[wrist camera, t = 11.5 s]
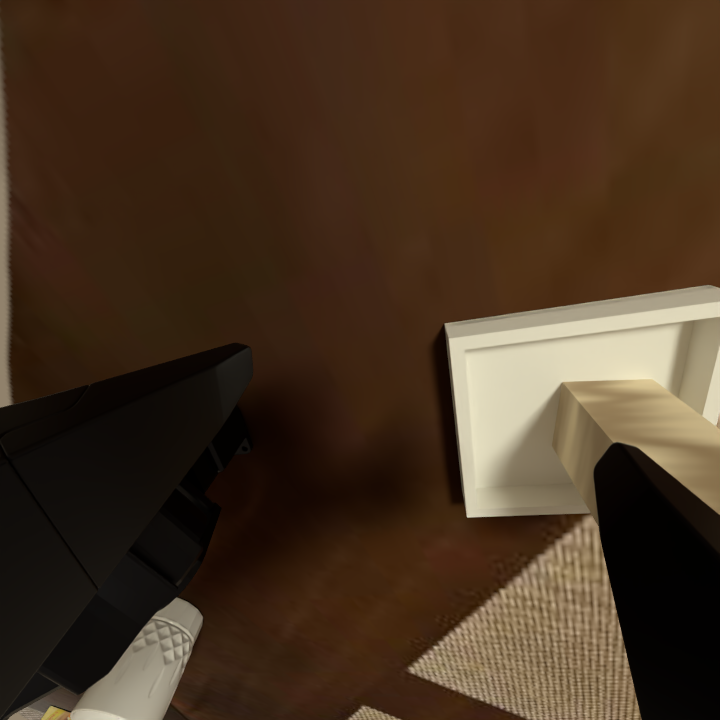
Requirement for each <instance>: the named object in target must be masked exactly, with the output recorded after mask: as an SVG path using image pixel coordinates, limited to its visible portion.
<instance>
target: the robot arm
mask: <svg viewBox="0 0 720 720" xmlns="http://www.w3.org/2000/svg"><path fill="white" fill-rule="evenodd" d="M252 375H253V362H252V351H251V348H250V347H249V346H247V345H244V344H240V343H232V344H228V345H225V346H221V347H218V348H214V349H211V350H207V351H204V352H200V353H197V354H193V355H190V356H186V357H183V358H179V359H176V360H172V361H169V362H165V363H162V364H158V365H155V366H151V367H148V368H144V369H141V370H137V371H134V372H130V373H127V374H123V375H120V376H116V377H113V378H109V379H106V380H102V381H99V382H95V383H92V384H90V386H88V385H85V386H81V387H78V388H74V389H71V390H67V391H64V392H60V393H56V394H53V395H49V396H45V397H42V398H38V399H34V400H30V401H26V402H22V403H18V404H13V405H9V406H5V407H1V408H0V720H8V719H9V717H10V716H12V715H13V714H14V713H16V712H18V711H20V710H22V709H24V708H25V707H27V706H29V705H31V704H33V703H34V702H36V701H38V700H40V699H42V698H43V697H45V696H47V695H49V694H51V693H52V692H54V691H56V690H58V689H60V688H61V687H63V688H65V689H66V690H68V691H70V692H72V693H73V694H75V695H78V694H81V693H83V692H84V691H86V690H87V689H88V688H90V687H91V686H93V685H94V684H95V683H97V682H98V681H99V680H101V679H102V678H104V677H105V676H106V675H107V674H109V672H110V671H111V670H112V669H113V667H114V666H115V665H116V663H117V662H118V661H119V659H120V658H121V657H122V655H123V654H124V653H125V651H126V650H127V648H128V647H129V646H130V644H131V643H132V642H133V640H134V639H135V638H136V636H137V635H138V634H139V633H140V631H141V630H142V629H143V627H144V626H145V625H146V624H147V623H148V622H149V620H150V619H151V618H152V617H153V616H154V615H155V614H156V612H158V611H160V610H162V609H163V608H165V607H166V606H167V605H169V604H170V603H171V602H172V601H173V600H174V599H175V598H176V597H177V596H178V595H179V594H180V593H181V592H182V591H183V590H184V588H185V587H186V586H187V585H188V583H189V582H190V581H191V580H192V578H193V577H194V575H195V574H196V572H197V571H198V569H199V567H200V565H201V564H202V561H203V559H204V557H205V554H206V551H207V548H208V546H209V543H210V540H211V537H212V534H213V531H214V528H215V526H216V523H217V520H218V517H219V514H220V511H221V507H220V506H219V505H217V504H216V503H213V502H212V501H211V500H210V499H209V498H207V497H206V496H205V495H204V493H205V492H206V490H207V489H208V487H209V486H210V484H211V483H212V482H213V480H214V479H215V477H216V476H217V474H218V473H219V472H223V471H224V469H225V468H226V466H227V465H228V463H229V462H230V460H231V459H232V457H233V456H234V455H238V454H248V453H250V452H251V450H252V448H253V445H252V442H251V440H250V438H249V435H248V431H247V429H246V427H245V424H244V422H243V419H242V417H241V414H240V412H239V409H238V407H237V406H236V404H237V402H238V401H239V399H240V397H241V396H242V394H243V392H244V391H245V389H246V387H247V386H248V384H249V382H250V380H251V378H252ZM244 446H245V447H244ZM246 447H247V448H246ZM593 478H594V487H595V497H596V506H597V515H598V524H599V532H600V539H601V543H602V548H603V553H604V557H605V562H606V566H607V570H608V575H609V579H610V583H611V588H612V592H613V597H614V601H615V605H616V610H617V614H618V618H619V623H620V627H621V631H622V636H623V640H624V645H625V649H626V653H627V658H628V662H629V666H630V671H631V675H632V680H633V684H634V688H635V693H636V697H637V701H638V706H639V710H640V714H641V719H642V720H720V515H719V514H718V513H717V512H716V511H714V510H713V509H712V508H711V507H710V506H708V505H707V504H706V503H705V502H703V501H702V500H701V499H700V498H699V497H697V496H696V495H695V494H694V493H693V492H691V491H690V490H689V489H688V488H686V487H685V486H684V485H683V484H682V483H680V482H679V481H678V480H677V479H676V478H674V477H673V476H672V475H671V474H669V473H668V472H667V471H666V470H665V469H663V468H662V467H661V466H660V465H659V464H657V463H656V462H655V461H654V460H652V459H651V458H650V457H649V456H648V455H646V454H645V453H644V452H643V451H642V450H640V449H639V448H638V447H636V446H633V445H629V444H625V443H621V442H614V443H612V444H611V445H610V446H609V447H608V449H607V450H606V451H605V453H604V454H603V455H602V457H601V458H600V459H599V461H598V462H597V463H596V465H595V467H594V470H593Z"/></svg>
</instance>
